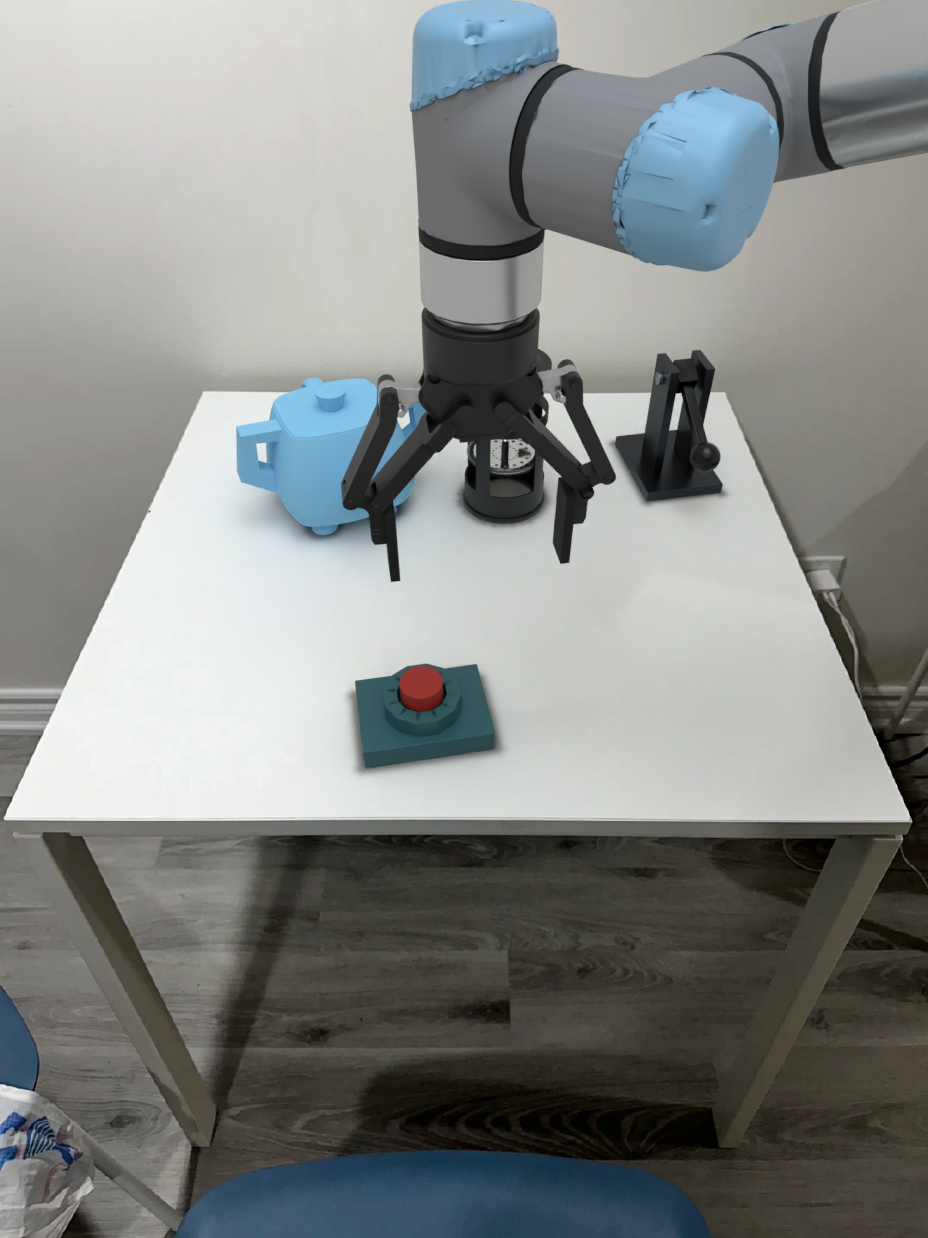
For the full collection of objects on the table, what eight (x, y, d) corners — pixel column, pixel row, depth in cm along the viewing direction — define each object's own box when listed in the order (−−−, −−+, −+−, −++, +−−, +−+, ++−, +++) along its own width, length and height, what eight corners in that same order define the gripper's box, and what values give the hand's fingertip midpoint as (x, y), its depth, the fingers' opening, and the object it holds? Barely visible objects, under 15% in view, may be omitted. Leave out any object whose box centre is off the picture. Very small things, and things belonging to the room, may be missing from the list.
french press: (513, 537, 93) (521, 337, 76) (443, 508, 96) (436, 312, 80) (567, 484, 99) (584, 291, 83) (499, 459, 103) (504, 270, 87)
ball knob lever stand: (721, 492, 98) (748, 384, 88) (646, 501, 97) (665, 393, 87) (684, 436, 106) (704, 332, 97) (614, 444, 105) (628, 339, 96)
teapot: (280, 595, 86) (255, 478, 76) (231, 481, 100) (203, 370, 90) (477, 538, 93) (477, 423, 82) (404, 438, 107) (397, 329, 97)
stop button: (446, 708, 71) (445, 695, 70) (403, 714, 70) (402, 701, 69) (439, 676, 73) (439, 663, 72) (398, 682, 73) (397, 668, 72)
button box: (494, 749, 72) (495, 719, 70) (365, 768, 71) (360, 739, 68) (476, 679, 78) (477, 649, 75) (357, 696, 77) (352, 666, 74)
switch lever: (717, 476, 92) (728, 462, 89) (689, 479, 91) (699, 465, 88) (689, 372, 95) (699, 355, 92) (662, 374, 95) (670, 358, 92)
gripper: (653, 268, 57) (615, 517, 72) (279, 294, 55) (320, 547, 70) (691, 317, 52) (642, 575, 67) (280, 349, 49) (324, 610, 64)
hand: (478, 561), depth 68 cm, fingers open, 13 cm apart
